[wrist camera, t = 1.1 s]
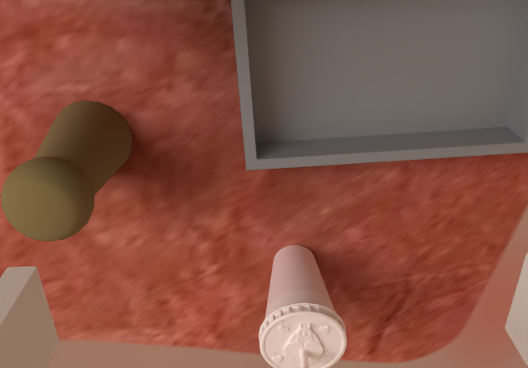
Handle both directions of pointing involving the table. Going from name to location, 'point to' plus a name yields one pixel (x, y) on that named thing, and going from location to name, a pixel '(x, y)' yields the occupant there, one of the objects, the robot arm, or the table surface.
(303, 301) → the smoothie
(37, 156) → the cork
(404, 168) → the table surface
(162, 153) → the table surface
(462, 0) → the tray
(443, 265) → the table surface
